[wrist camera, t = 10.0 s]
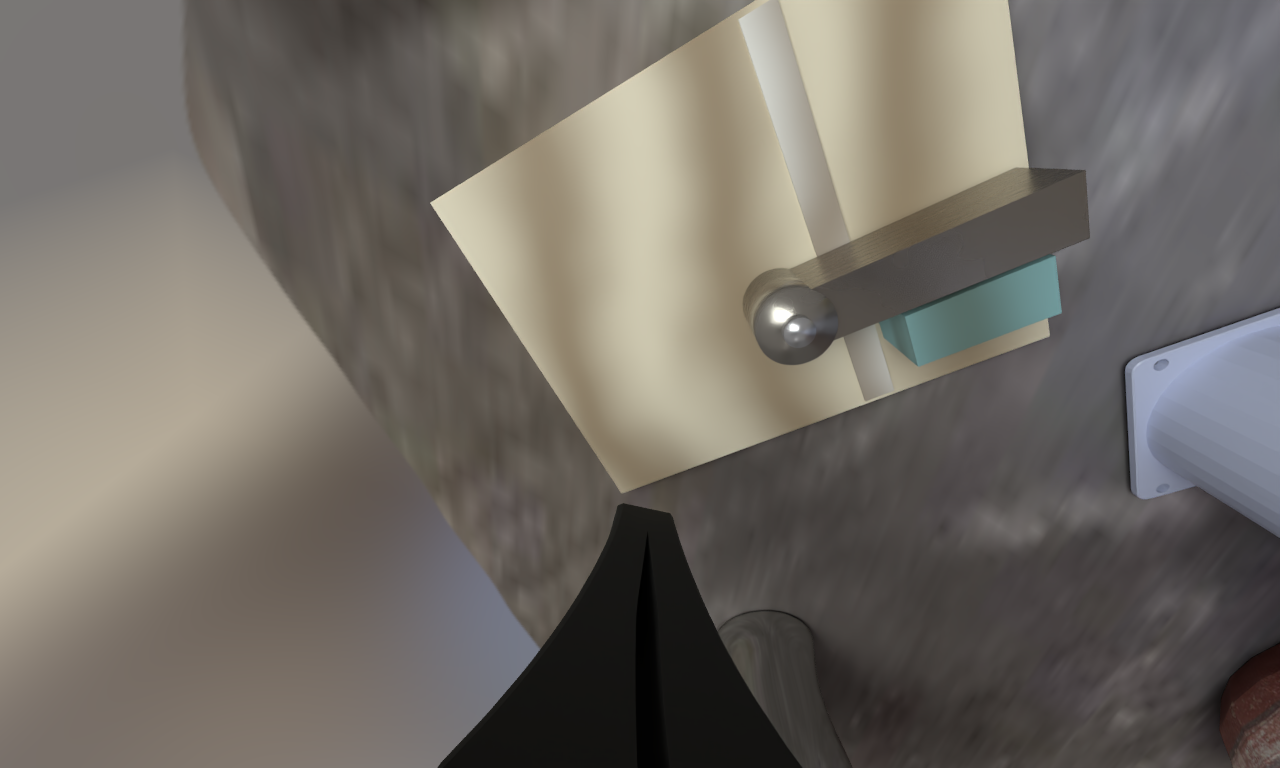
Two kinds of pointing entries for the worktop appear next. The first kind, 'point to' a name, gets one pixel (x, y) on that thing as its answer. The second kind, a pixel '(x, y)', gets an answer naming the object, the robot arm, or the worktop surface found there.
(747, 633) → the beer glass
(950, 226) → the swing bar
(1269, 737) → the pottery
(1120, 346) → the worktop surface
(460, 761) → the robot arm
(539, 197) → the board
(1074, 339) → the worktop surface
